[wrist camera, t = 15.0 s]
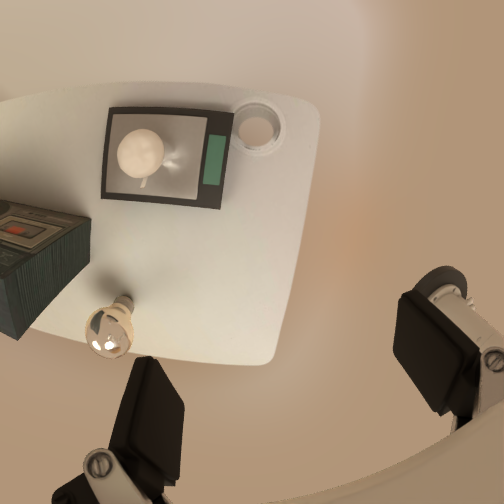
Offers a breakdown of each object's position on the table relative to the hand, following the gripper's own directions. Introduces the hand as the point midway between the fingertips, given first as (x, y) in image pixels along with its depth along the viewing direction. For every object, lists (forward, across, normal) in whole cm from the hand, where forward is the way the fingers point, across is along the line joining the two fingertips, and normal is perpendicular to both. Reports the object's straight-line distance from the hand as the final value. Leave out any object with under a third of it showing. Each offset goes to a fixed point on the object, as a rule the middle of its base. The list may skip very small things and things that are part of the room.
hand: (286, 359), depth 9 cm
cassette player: (+28, +36, -7) cm, 47 cm away
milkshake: (+25, +8, -9) cm, 28 cm away
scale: (+28, +8, -9) cm, 31 cm away
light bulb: (+28, +21, +10) cm, 37 cm away
